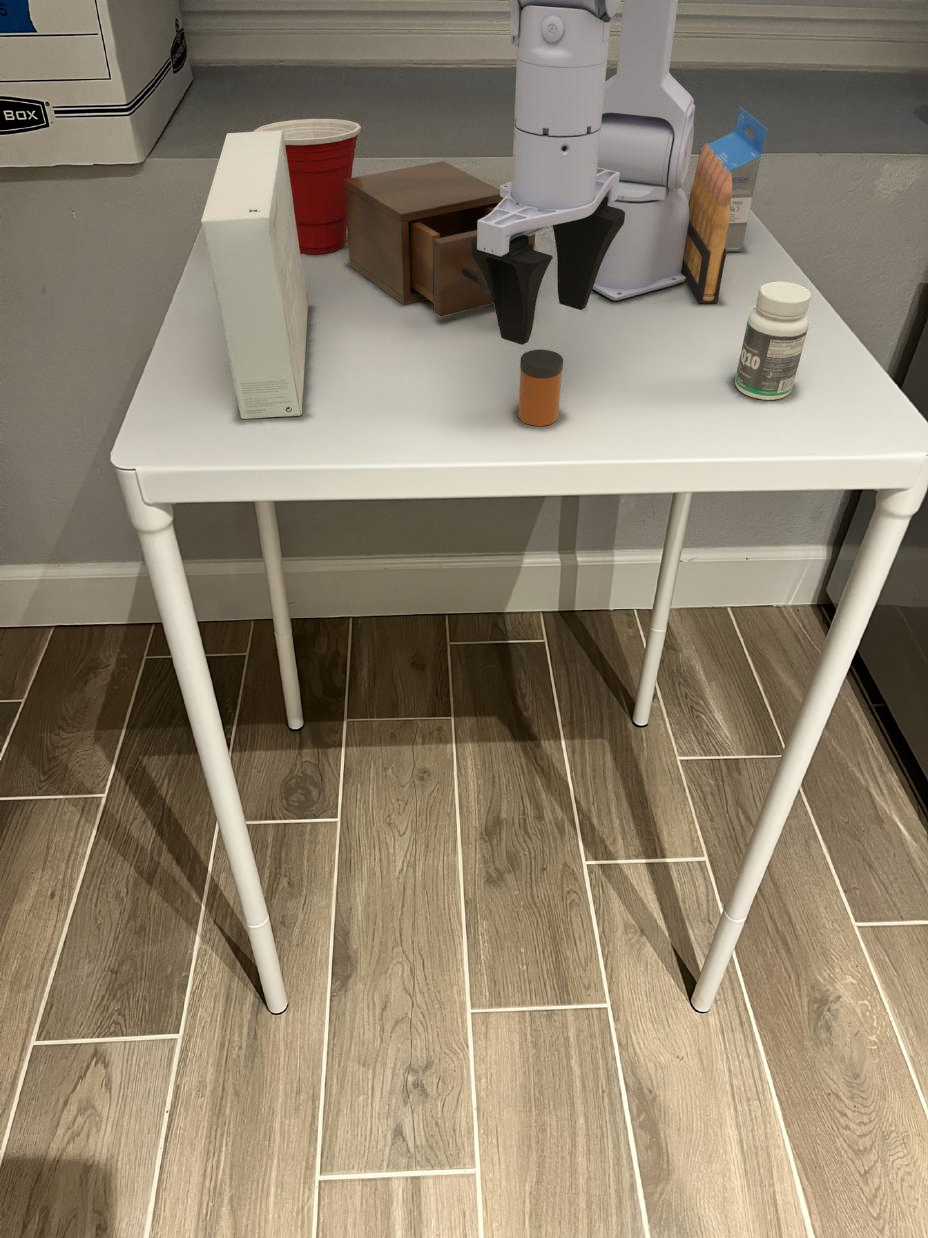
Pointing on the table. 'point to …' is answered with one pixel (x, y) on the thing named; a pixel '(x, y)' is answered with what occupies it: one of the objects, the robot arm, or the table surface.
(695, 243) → the ammunition clip
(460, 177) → the cabinet
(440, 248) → the drawer
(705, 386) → the table surface
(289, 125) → the plastic cup
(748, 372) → the pill bottle
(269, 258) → the skincare box
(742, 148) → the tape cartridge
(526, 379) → the bottle
